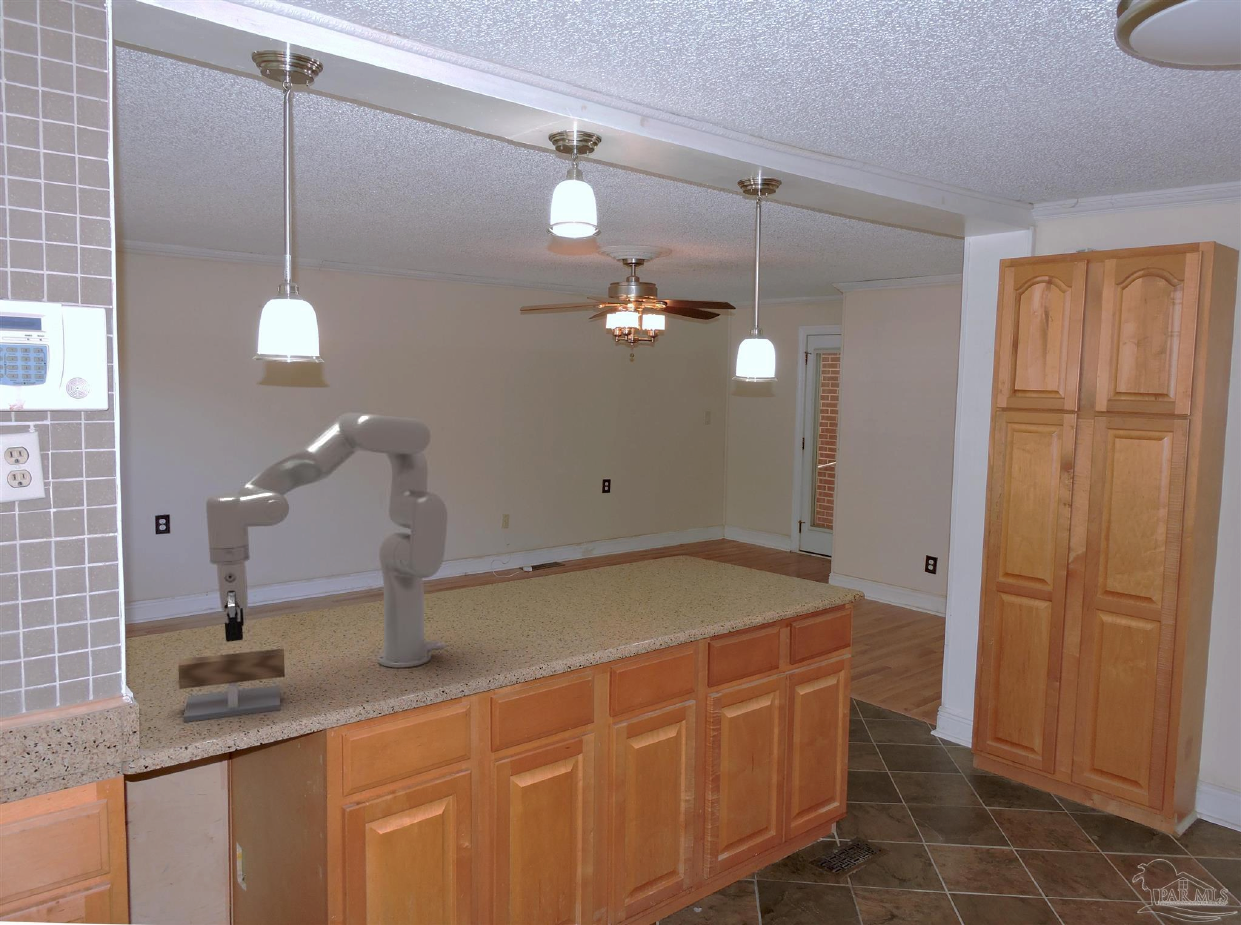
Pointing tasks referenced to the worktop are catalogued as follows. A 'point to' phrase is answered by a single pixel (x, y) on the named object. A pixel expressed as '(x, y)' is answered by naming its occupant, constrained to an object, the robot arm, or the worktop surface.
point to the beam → (231, 668)
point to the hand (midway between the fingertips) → (235, 633)
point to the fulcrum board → (221, 703)
